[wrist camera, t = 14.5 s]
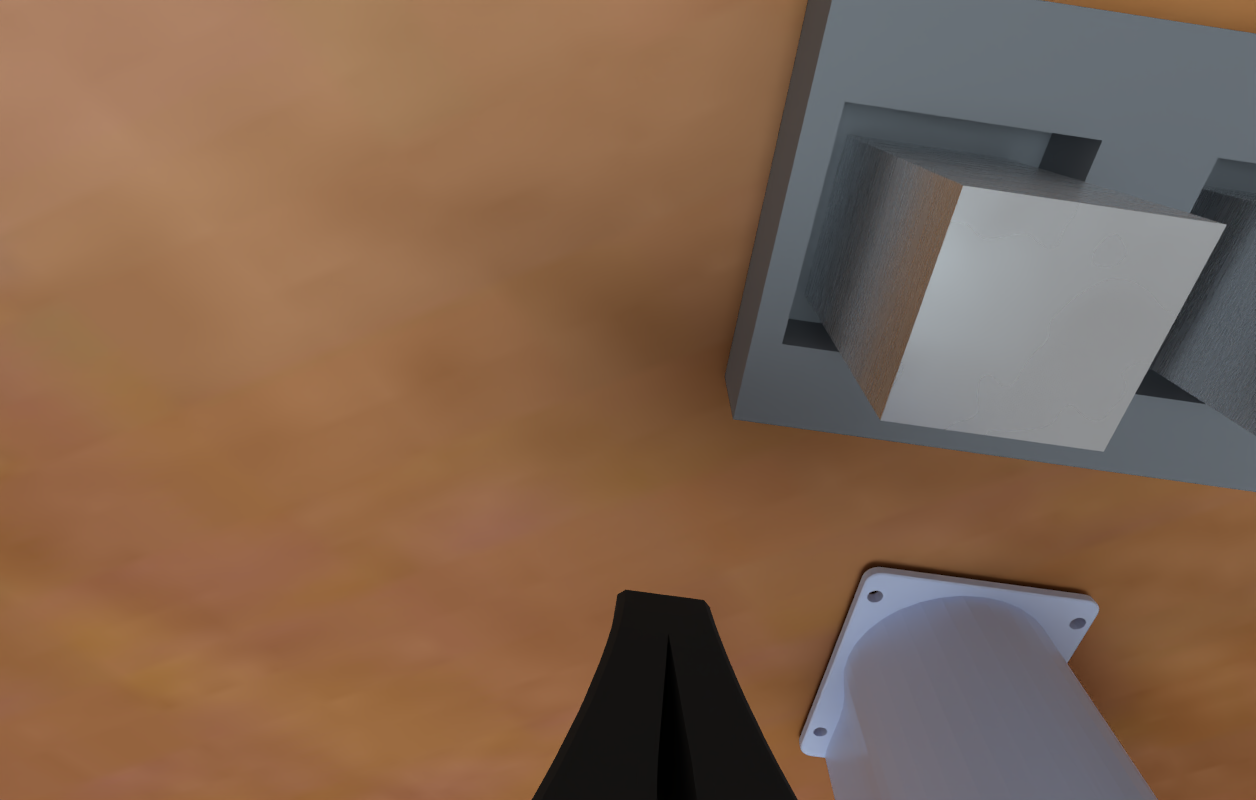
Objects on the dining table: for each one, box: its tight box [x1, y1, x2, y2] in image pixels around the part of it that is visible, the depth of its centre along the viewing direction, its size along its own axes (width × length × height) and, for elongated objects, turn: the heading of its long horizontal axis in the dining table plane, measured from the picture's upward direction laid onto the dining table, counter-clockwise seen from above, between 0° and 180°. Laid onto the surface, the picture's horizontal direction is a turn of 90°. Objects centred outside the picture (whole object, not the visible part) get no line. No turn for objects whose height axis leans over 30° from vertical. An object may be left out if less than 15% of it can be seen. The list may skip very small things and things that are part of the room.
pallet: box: [725, 0, 1256, 492], centre depth 17 cm, size 10×15×3 cm, turn 83°
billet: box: [804, 135, 1227, 452], centre depth 14 cm, size 4×4×7 cm
